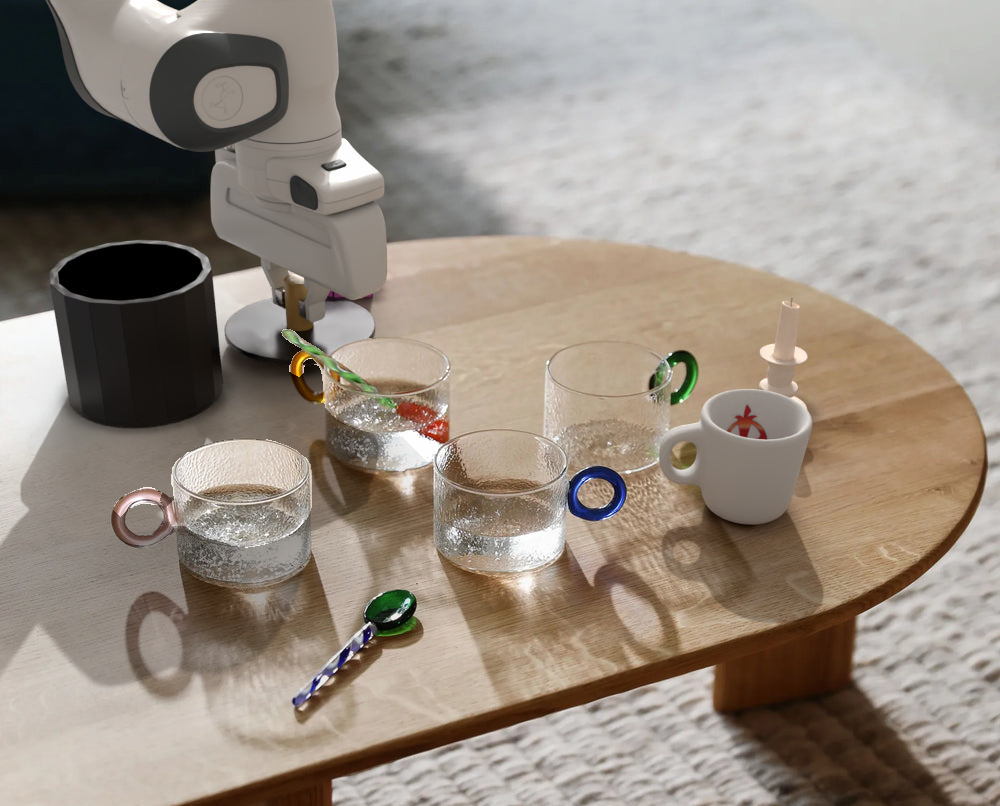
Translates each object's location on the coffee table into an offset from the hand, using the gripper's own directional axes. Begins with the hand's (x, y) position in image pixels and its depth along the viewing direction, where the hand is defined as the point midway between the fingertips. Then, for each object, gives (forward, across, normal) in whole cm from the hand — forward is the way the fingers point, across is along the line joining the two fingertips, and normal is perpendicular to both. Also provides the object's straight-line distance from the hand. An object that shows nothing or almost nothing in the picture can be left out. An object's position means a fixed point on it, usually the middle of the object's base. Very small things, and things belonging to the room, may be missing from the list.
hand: (299, 311), depth 124 cm
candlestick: (+4, +37, +21) cm, 43 cm away
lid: (+2, 0, 0) cm, 2 cm away
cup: (+4, +43, +6) cm, 43 cm away
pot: (+3, -2, -15) cm, 16 cm away
